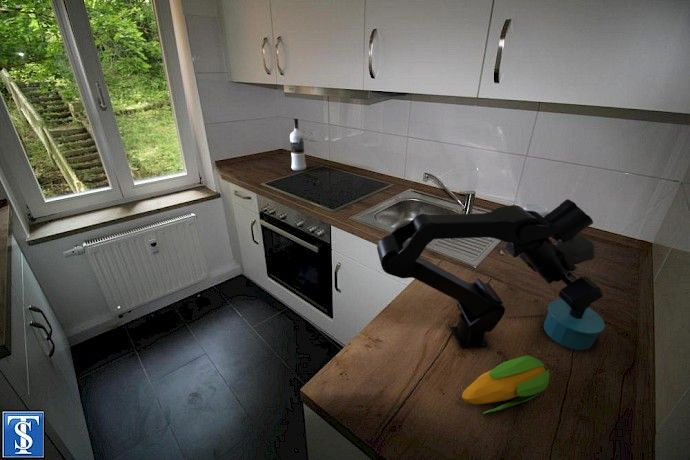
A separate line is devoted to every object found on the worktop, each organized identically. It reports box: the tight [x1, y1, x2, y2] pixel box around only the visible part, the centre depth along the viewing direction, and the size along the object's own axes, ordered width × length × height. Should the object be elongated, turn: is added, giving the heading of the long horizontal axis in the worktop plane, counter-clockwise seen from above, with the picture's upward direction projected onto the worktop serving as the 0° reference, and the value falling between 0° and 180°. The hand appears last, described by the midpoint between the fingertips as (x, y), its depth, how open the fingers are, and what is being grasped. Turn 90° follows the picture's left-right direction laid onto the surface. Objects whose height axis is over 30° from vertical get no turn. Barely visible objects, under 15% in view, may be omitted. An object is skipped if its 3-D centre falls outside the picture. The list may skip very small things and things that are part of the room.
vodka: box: [289, 118, 307, 172], centre depth 190 cm, size 9×9×30 cm
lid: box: [547, 299, 606, 335], centre depth 73 cm, size 11×11×10 cm
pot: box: [543, 311, 599, 351], centre depth 76 cm, size 10×10×5 cm
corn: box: [461, 354, 550, 415], centre depth 61 cm, size 7×8×20 cm
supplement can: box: [522, 203, 549, 217], centre depth 111 cm, size 8×8×15 cm
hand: (572, 292), depth 71 cm, fingers open, 9 cm apart
